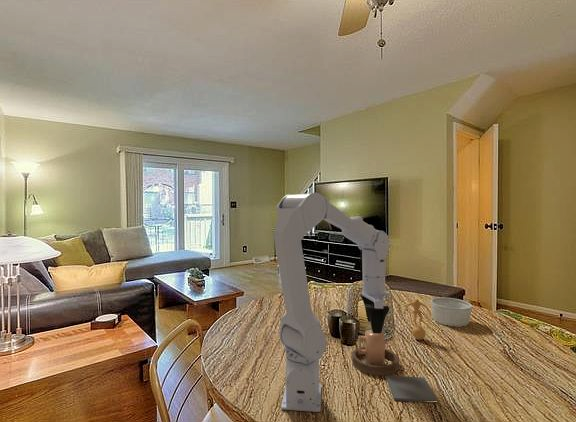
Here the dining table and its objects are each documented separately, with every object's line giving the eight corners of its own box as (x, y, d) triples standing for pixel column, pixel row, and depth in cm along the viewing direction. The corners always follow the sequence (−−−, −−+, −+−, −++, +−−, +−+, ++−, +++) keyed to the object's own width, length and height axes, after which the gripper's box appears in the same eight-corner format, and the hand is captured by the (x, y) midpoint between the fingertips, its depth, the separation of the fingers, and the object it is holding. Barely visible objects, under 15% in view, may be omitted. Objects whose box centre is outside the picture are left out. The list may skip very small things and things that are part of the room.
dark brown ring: (403, 376, 75) (403, 368, 75) (354, 373, 77) (354, 365, 77) (392, 354, 87) (392, 347, 87) (350, 352, 88) (350, 345, 88)
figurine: (406, 341, 95) (406, 302, 95) (401, 333, 101) (401, 296, 101) (435, 342, 95) (435, 303, 94) (428, 334, 101) (428, 297, 100)
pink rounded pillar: (382, 359, 84) (383, 330, 84) (386, 369, 79) (386, 337, 79) (357, 358, 85) (357, 329, 85) (359, 367, 80) (359, 336, 80)
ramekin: (480, 329, 105) (480, 308, 105) (440, 328, 106) (440, 308, 105) (459, 315, 119) (459, 297, 118) (424, 315, 119) (424, 297, 119)
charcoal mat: (438, 403, 65) (438, 400, 65) (394, 400, 66) (394, 397, 66) (424, 379, 74) (424, 377, 74) (385, 377, 75) (385, 375, 75)
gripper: (396, 282, 74) (396, 339, 74) (383, 269, 89) (384, 317, 89) (366, 282, 75) (366, 338, 75) (358, 269, 89) (358, 316, 90)
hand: (374, 326), depth 82 cm, fingers open, 7 cm apart
